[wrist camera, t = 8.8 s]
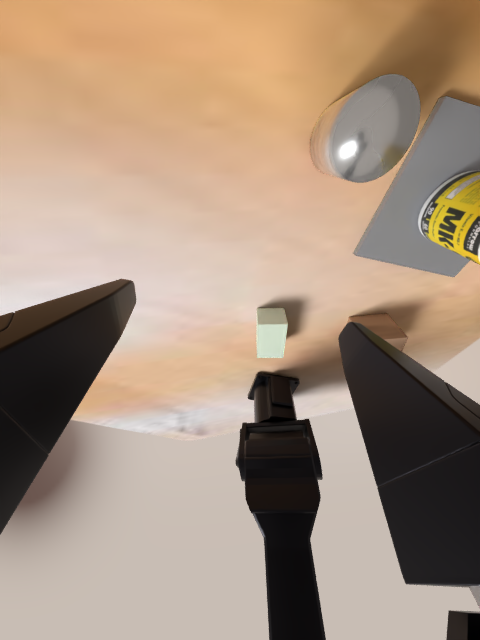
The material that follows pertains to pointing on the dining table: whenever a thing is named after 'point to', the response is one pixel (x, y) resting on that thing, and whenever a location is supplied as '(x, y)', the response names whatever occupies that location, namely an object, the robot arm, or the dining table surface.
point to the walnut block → (383, 328)
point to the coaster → (425, 190)
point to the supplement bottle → (454, 215)
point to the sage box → (271, 332)
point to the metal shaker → (367, 130)
